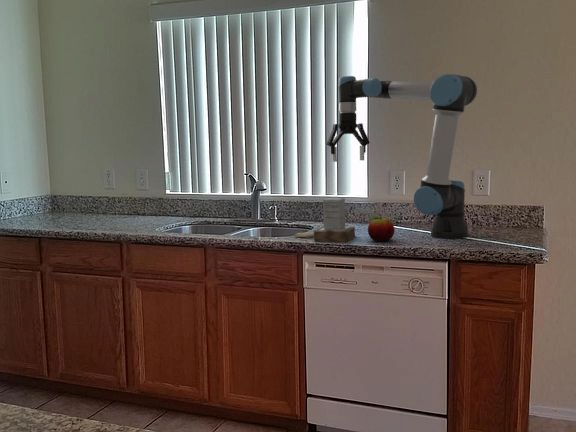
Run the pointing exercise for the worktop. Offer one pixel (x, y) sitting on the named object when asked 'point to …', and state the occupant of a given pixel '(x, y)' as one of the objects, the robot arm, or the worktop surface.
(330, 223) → the supplement box
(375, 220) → the fruit
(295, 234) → the cork coaster
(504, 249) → the worktop surface
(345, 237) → the stand
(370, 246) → the worktop surface
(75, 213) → the worktop surface
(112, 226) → the worktop surface
